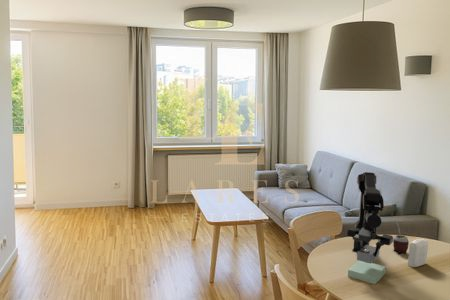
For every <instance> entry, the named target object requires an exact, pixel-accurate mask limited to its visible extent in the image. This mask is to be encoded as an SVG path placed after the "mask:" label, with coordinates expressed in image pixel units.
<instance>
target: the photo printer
mask: <svg viewBox="0 0 450 300" xmlns="http://www.w3.org/2000/svg"><path fill="white" fill-rule="evenodd" d="M408 249H409V251H408V257H407V258H408V260H407V264H408V266H409V267H411V268H417V267H421V266H423V265H426V264H427V262H428V261H427V259H428V250H429V242H428V240H426V239H424V238H417V239H415V240H412V242H411V243H409V246H408Z"/></svg>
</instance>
